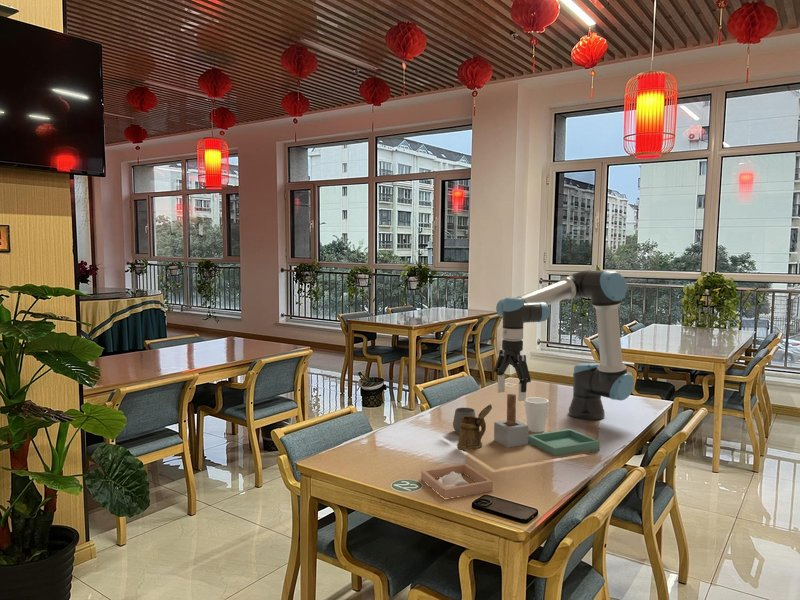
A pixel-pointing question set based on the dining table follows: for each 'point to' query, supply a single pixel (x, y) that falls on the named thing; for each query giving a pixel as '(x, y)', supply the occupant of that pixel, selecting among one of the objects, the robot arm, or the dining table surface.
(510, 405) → the dowel
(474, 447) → the wooden mug
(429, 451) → the dining table surface
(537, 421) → the foam cup
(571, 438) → the tray
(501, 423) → the grey hollow square block
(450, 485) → the white seashell
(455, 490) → the pink square tray
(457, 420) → the cup
